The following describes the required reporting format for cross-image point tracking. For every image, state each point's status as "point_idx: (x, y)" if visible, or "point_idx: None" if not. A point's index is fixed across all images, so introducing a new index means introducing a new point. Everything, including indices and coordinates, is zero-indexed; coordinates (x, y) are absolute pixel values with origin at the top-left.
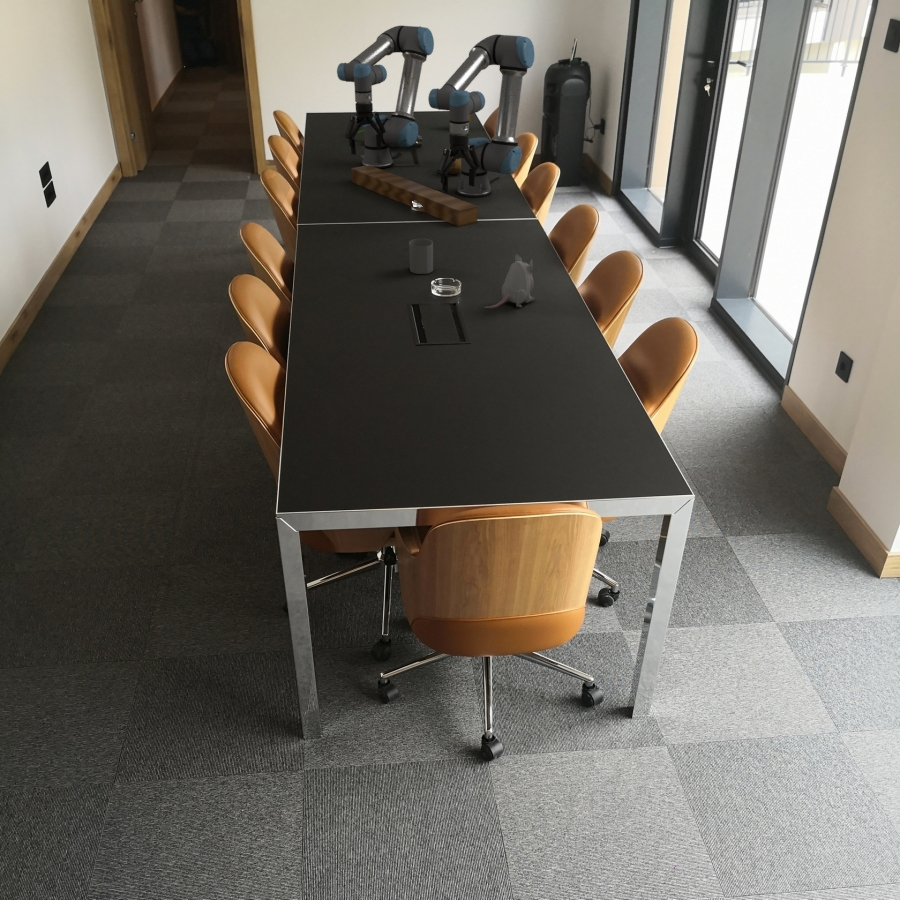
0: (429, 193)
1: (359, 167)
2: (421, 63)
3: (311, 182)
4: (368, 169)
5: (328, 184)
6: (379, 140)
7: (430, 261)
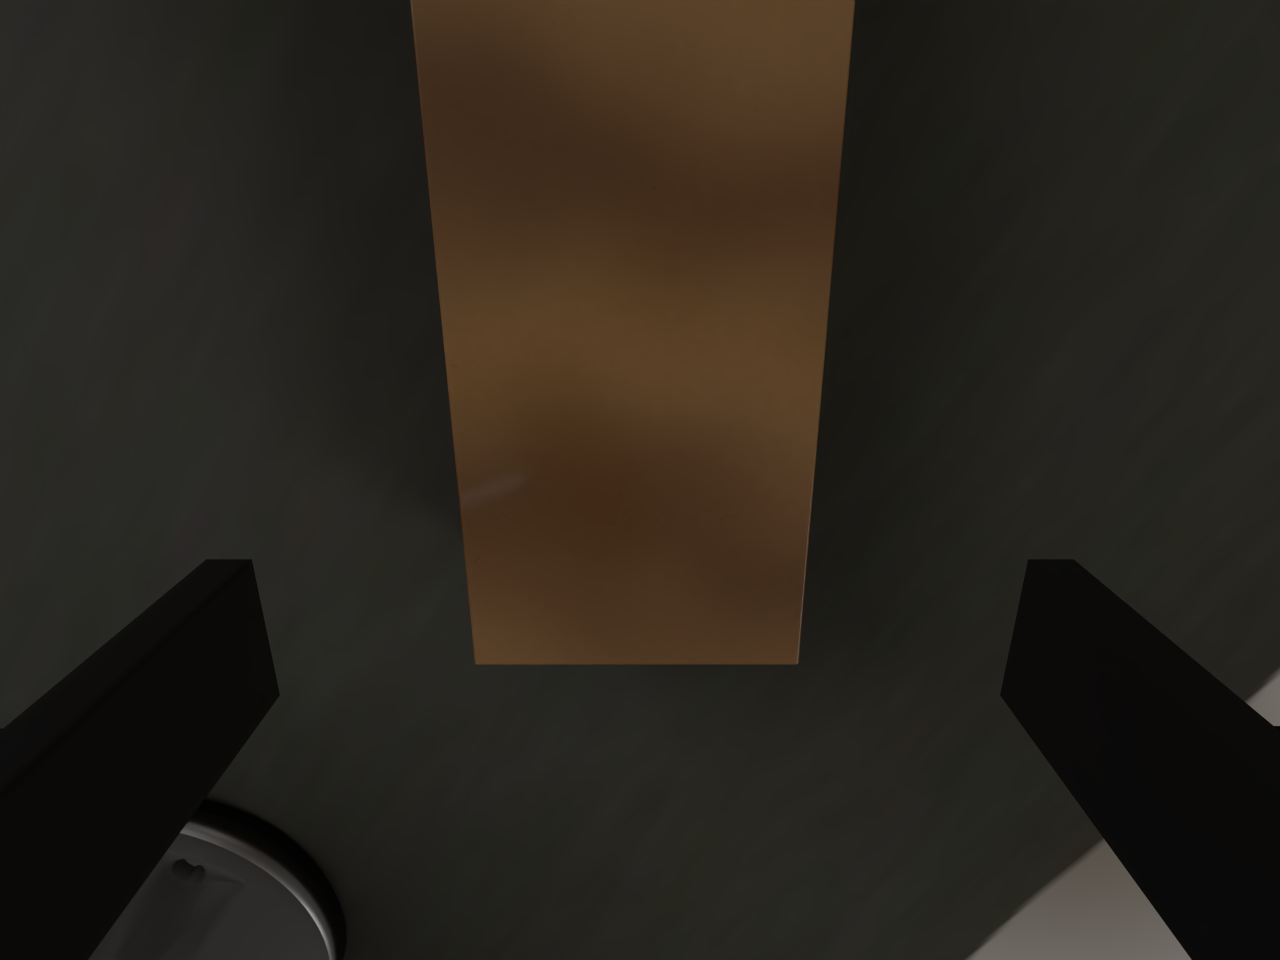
0: None
1: (674, 634)
2: None
3: None
4: (625, 461)
5: None
6: (62, 739)
7: None
